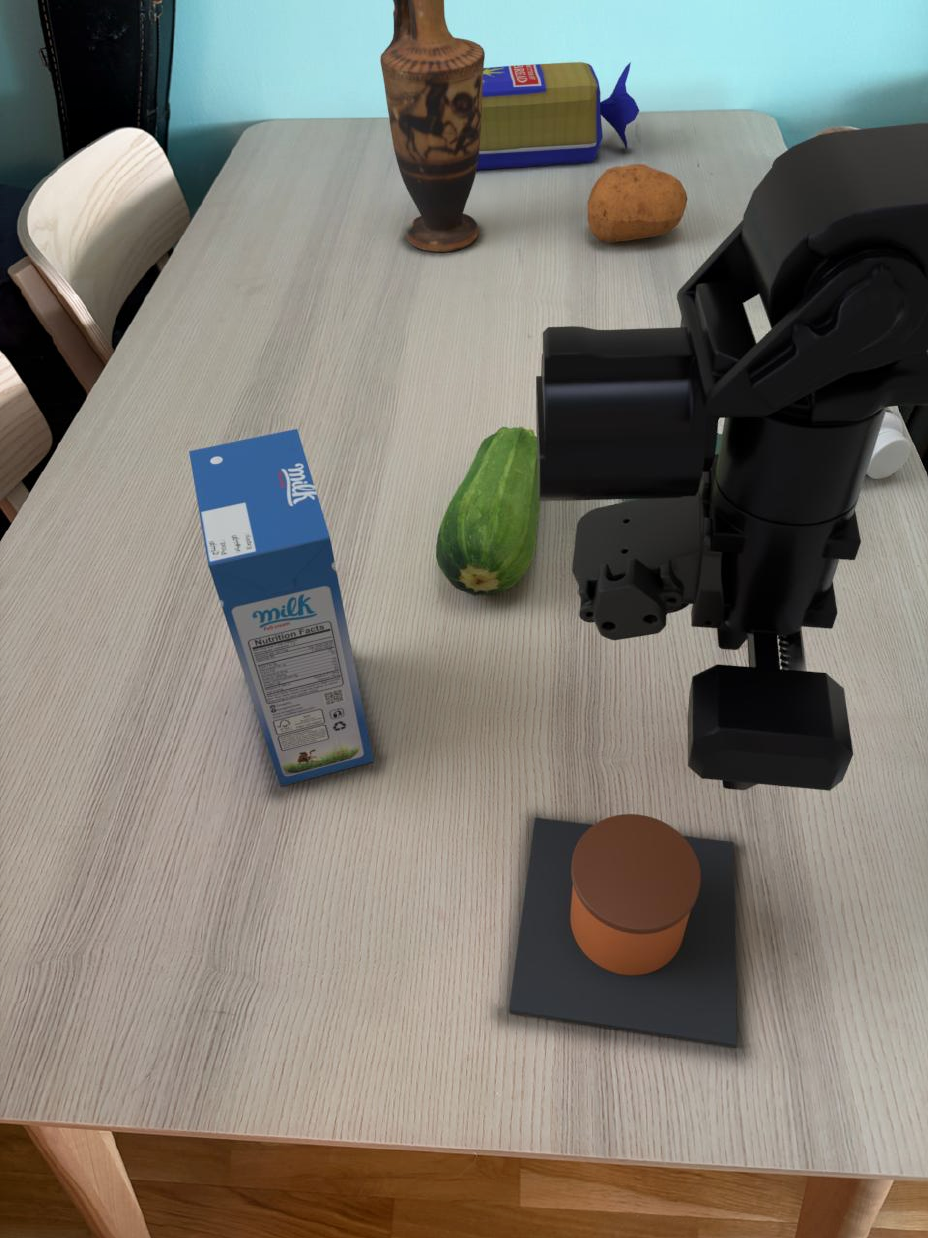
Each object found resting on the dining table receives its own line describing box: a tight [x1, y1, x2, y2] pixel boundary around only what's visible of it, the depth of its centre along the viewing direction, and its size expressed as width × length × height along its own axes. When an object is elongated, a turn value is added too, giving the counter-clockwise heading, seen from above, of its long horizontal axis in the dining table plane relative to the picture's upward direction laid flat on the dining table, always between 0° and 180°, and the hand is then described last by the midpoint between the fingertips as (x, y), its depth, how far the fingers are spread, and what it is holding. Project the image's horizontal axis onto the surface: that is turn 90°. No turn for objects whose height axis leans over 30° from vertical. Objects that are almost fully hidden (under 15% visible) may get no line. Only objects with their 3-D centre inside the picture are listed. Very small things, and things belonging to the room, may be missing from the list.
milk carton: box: [188, 428, 374, 787], centre depth 60 cm, size 10×6×20 cm, turn 17°
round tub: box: [570, 813, 701, 975], centre depth 53 cm, size 7×7×6 cm
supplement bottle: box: [866, 407, 912, 480], centre depth 82 cm, size 6×6×10 cm
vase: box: [379, 0, 486, 253], centre depth 104 cm, size 11×11×30 cm
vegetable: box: [435, 426, 541, 597], centre depth 77 cm, size 7×7×20 cm
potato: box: [586, 163, 688, 243], centre depth 110 cm, size 9×11×8 cm
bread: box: [476, 61, 640, 171], centre depth 126 cm, size 10×25×10 cm, turn 93°
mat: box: [508, 817, 739, 1048], centre depth 56 cm, size 12×12×1 cm
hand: (730, 712), depth 51 cm, fingers open, 9 cm apart
